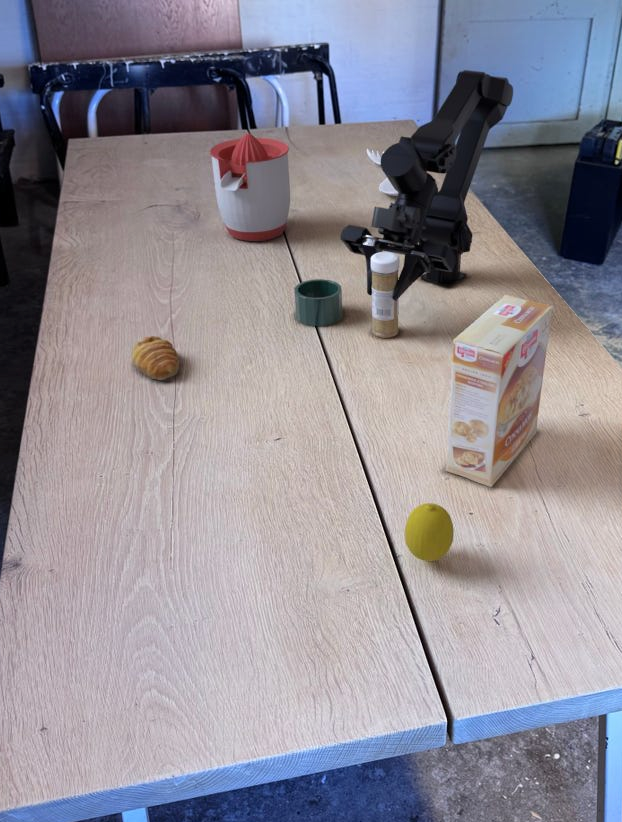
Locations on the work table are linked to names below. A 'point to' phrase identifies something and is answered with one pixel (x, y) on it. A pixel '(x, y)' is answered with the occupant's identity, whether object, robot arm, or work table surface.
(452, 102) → the robot arm
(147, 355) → the pastry
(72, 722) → the work table surface
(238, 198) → the citrus juicer
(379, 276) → the sprinkles bottle
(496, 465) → the coffeecake box
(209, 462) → the work table surface
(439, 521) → the lemon
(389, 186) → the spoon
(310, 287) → the cup
